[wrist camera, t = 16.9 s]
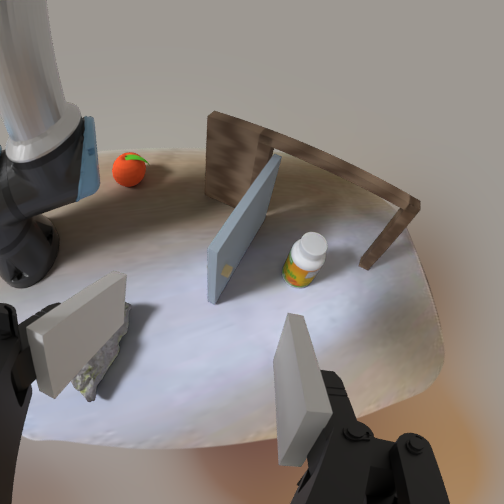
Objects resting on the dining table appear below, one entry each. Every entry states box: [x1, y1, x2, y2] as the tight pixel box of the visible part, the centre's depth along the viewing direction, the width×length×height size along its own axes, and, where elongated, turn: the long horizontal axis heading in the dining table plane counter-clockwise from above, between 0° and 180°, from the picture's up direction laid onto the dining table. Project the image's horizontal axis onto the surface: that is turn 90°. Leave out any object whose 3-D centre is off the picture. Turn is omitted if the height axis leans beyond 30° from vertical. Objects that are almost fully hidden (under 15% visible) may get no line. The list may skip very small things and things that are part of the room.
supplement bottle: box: [282, 232, 328, 288], centre depth 44 cm, size 5×5×10 cm
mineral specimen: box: [71, 302, 131, 402], centre depth 34 cm, size 16×7×7 cm, turn 160°
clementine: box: [112, 152, 150, 187], centre depth 52 cm, size 8×7×7 cm
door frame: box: [205, 111, 420, 270], centre depth 46 cm, size 34×2×18 cm, turn 65°
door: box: [207, 154, 282, 305], centre depth 42 cm, size 19×3×15 cm, turn 155°
